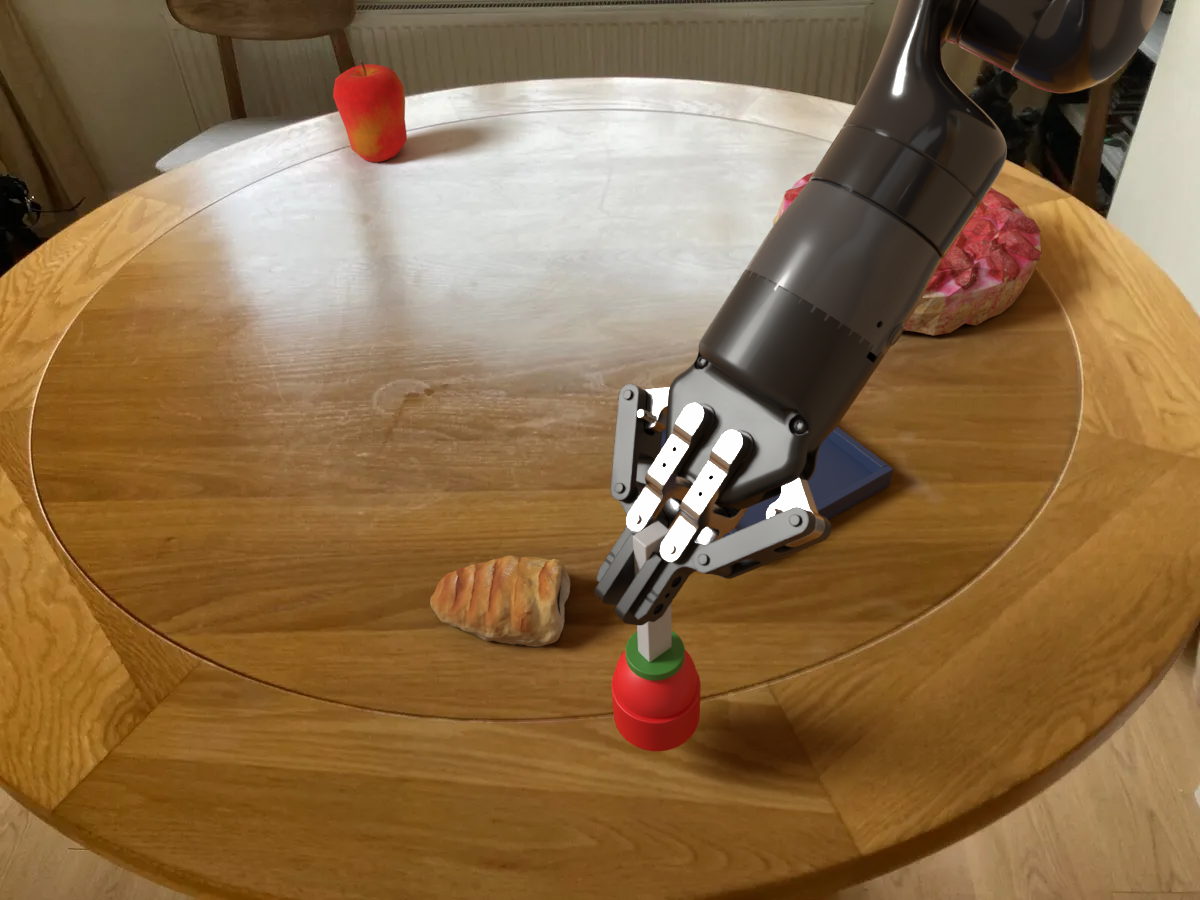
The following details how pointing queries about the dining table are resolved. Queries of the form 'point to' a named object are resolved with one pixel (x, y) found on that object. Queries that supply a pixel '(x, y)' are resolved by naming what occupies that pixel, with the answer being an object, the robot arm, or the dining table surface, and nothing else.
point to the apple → (372, 110)
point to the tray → (832, 479)
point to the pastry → (506, 600)
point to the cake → (973, 266)
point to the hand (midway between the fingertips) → (619, 609)
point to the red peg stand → (655, 674)
